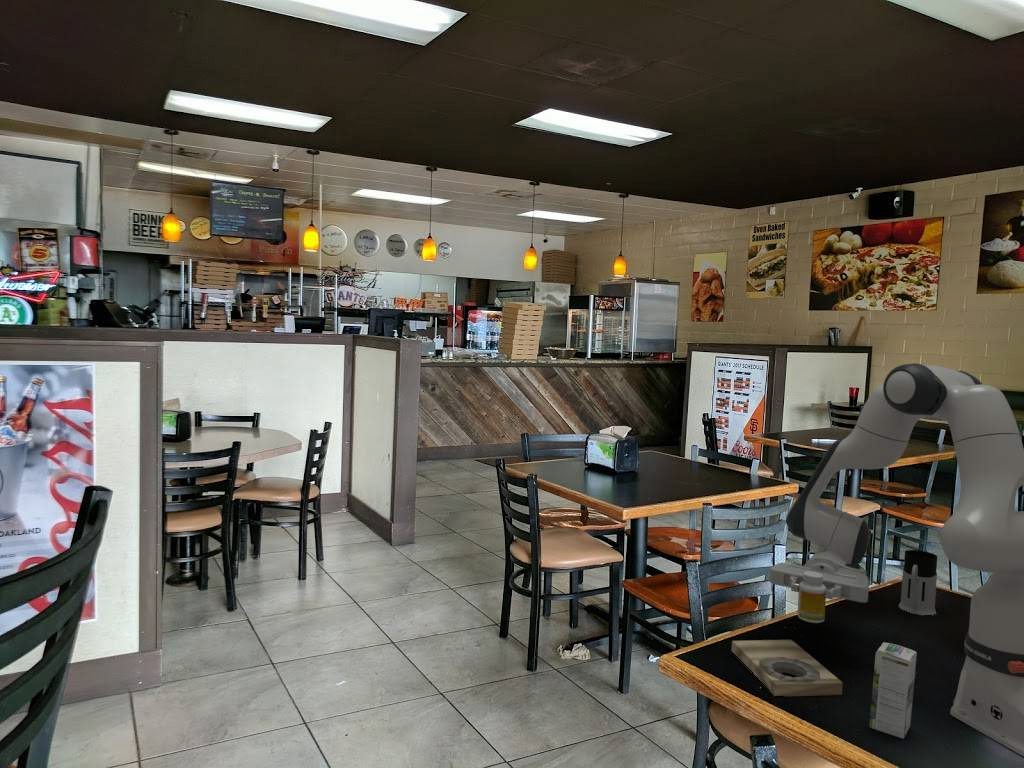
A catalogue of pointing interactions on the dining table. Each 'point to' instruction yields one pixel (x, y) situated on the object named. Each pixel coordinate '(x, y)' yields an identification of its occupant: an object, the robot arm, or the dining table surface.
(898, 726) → the syrup box
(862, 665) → the dining table surface
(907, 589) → the glass holder
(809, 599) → the supplement bottle
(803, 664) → the plate
